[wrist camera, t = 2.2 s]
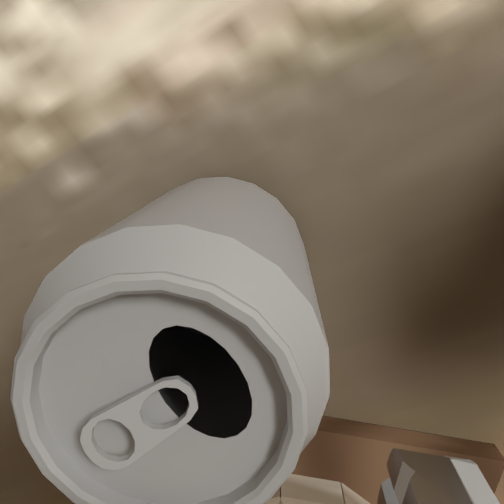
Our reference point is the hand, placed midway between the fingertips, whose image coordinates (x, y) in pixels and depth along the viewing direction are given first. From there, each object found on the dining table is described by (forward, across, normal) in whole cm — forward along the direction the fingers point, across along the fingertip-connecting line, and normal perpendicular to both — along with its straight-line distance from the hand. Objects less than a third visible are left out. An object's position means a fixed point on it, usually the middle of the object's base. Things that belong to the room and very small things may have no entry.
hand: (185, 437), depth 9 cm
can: (+12, +1, 0) cm, 12 cm away
